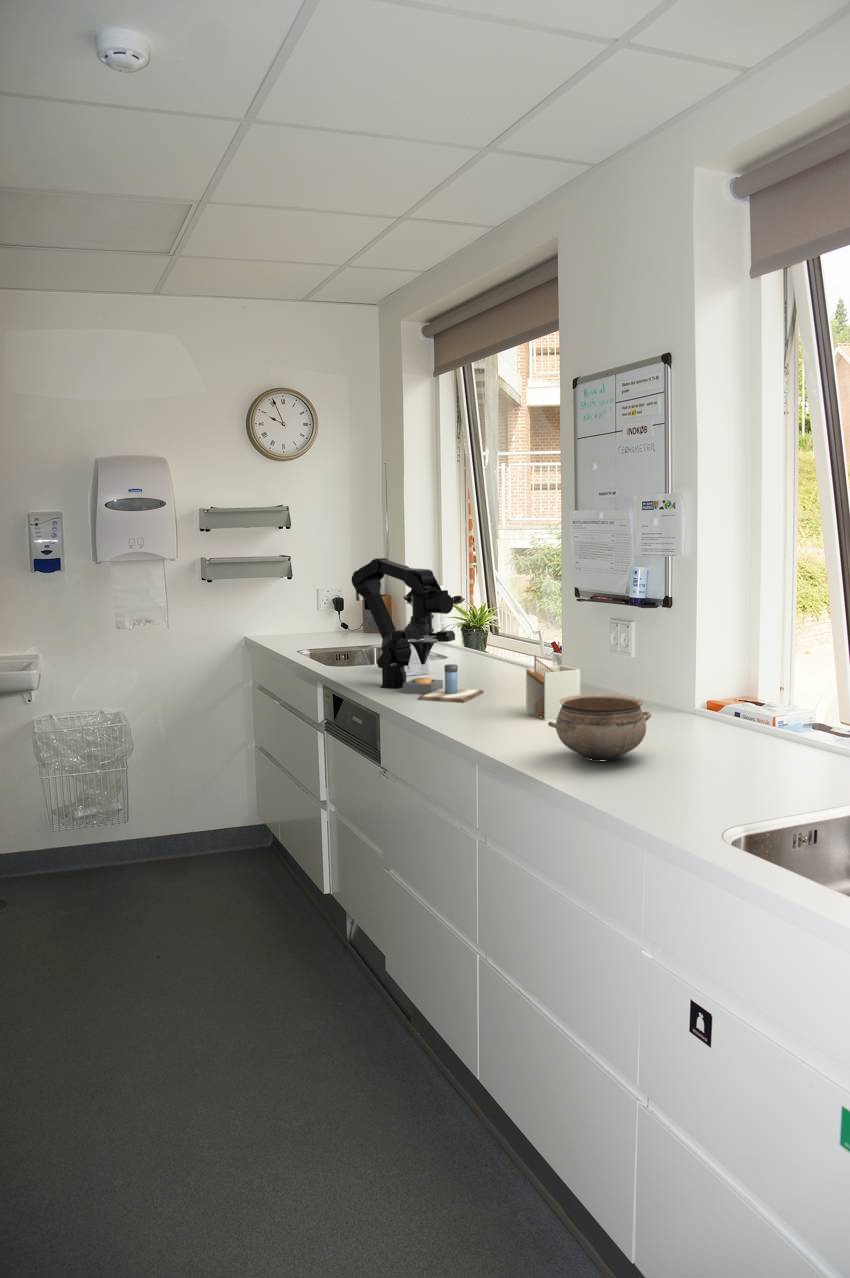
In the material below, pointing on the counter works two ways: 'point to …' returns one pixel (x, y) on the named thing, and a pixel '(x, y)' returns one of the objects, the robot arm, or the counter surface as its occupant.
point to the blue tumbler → (451, 678)
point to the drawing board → (451, 695)
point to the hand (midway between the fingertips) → (423, 664)
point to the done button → (423, 680)
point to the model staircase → (549, 688)
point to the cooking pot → (601, 725)
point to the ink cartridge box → (416, 664)
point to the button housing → (421, 687)
